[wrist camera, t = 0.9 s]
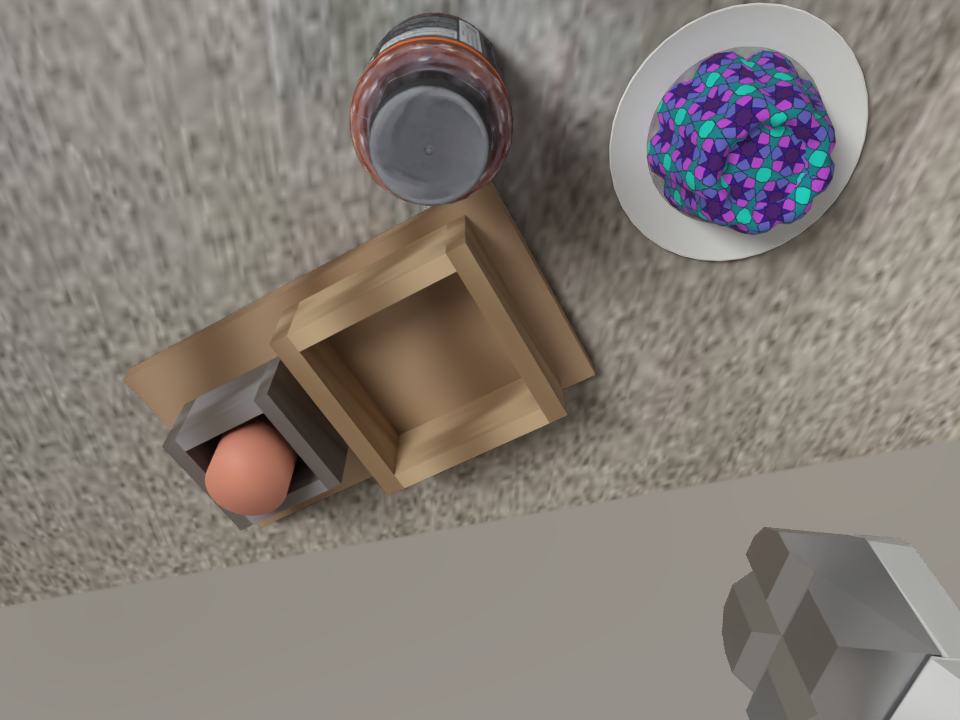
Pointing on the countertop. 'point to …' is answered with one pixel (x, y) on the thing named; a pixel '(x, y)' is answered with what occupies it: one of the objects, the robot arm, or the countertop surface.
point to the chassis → (379, 359)
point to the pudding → (739, 132)
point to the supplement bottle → (432, 111)
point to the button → (251, 468)
